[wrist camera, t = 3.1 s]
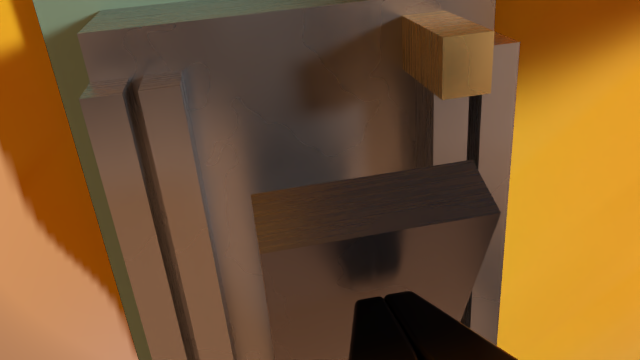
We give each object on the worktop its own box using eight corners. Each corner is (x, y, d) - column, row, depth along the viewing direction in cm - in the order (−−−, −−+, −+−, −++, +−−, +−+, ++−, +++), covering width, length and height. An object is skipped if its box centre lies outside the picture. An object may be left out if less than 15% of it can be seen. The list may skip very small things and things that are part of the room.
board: (466, 398, 23) (472, 410, 23) (173, 461, 22) (172, 475, 21) (491, -115, 15) (502, -116, 15) (18, -73, 13) (11, -72, 13)
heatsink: (437, 399, 22) (501, 533, 18) (208, 449, 21) (210, 607, 16) (445, -28, 15) (556, 1, 10) (100, 9, 14) (47, 62, 9)
